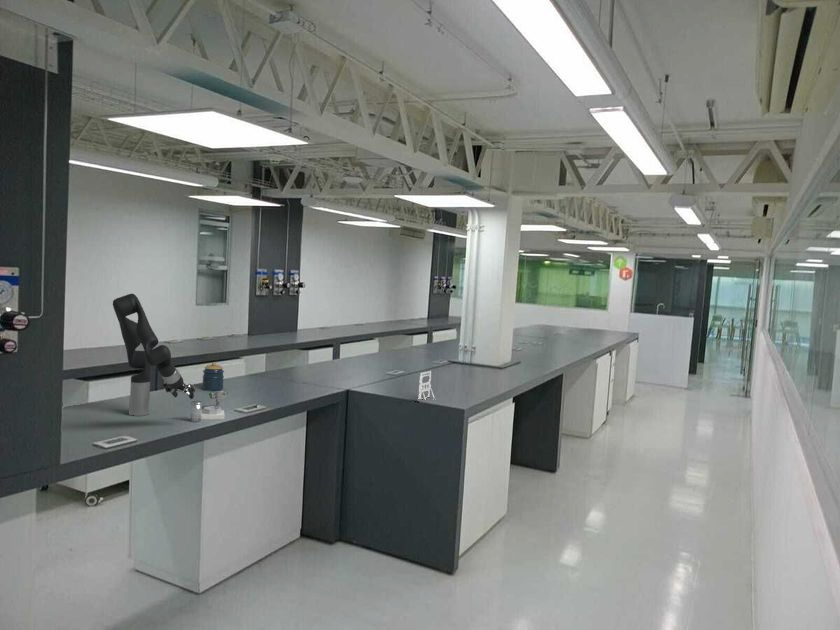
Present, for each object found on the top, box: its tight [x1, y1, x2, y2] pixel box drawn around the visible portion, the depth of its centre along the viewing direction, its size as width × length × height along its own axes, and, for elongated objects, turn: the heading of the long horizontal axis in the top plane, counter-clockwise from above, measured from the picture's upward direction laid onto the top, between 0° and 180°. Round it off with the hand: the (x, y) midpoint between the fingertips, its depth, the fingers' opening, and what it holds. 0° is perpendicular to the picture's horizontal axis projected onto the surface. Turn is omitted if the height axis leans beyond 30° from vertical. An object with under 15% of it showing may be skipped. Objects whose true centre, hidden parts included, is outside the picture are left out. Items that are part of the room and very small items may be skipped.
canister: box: [201, 361, 225, 392], centre depth 391 cm, size 13×13×18 cm
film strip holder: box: [417, 370, 435, 400], centre depth 397 cm, size 14×14×20 cm
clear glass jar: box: [190, 400, 203, 423], centre depth 309 cm, size 5×5×10 cm
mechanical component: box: [208, 390, 228, 407], centre depth 338 cm, size 3×10×10 cm, turn 134°
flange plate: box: [201, 405, 226, 420], centre depth 322 cm, size 12×12×4 cm
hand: (184, 396), depth 297 cm, fingers open, 8 cm apart
